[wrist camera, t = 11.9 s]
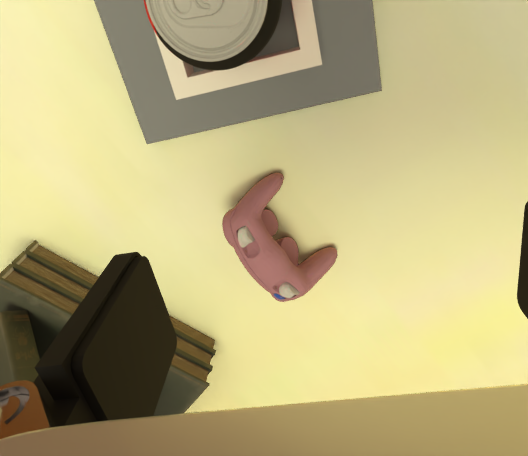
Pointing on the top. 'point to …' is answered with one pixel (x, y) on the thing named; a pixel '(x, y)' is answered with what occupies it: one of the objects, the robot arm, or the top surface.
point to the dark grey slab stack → (58, 313)
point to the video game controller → (272, 245)
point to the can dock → (245, 67)
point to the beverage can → (214, 29)
